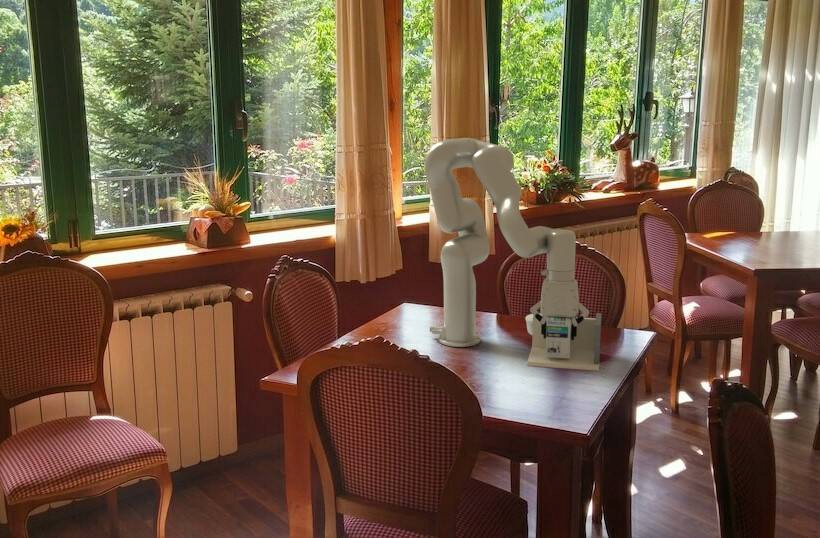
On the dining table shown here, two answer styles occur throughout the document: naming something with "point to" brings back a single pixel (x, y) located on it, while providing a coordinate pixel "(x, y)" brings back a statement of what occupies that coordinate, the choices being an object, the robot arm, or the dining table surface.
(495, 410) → the dining table surface
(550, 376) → the dining table surface
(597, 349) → the bookend
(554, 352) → the light bulb box
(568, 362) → the cream open angled stand
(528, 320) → the ramekin
